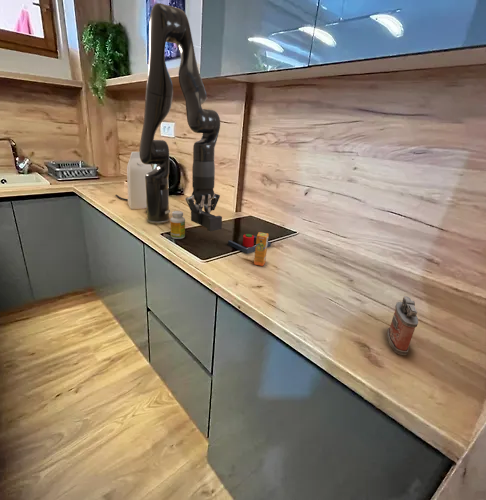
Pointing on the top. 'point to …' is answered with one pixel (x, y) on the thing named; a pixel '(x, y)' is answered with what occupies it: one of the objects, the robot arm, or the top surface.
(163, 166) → the robot arm
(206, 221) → the matte black brick
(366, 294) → the top surface
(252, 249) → the frame
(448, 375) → the top surface
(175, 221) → the supplement bottle
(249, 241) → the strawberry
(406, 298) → the lighter
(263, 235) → the supplement box
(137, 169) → the milk
